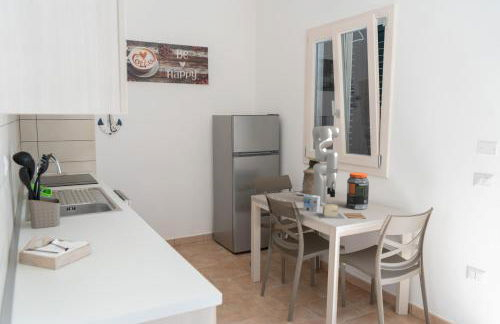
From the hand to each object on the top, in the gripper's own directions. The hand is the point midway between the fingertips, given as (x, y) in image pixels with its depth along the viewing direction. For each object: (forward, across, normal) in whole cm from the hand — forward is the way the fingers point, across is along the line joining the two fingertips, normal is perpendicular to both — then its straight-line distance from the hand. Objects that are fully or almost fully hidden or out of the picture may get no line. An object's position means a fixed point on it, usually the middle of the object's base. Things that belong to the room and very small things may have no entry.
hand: (330, 195), depth 264 cm
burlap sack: (+15, -74, +1) cm, 75 cm away
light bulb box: (+15, -16, -10) cm, 24 cm away
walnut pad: (+14, 0, +17) cm, 22 cm away
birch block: (+14, 0, 0) cm, 14 cm away
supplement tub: (+15, -26, +26) cm, 40 cm away
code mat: (+14, 0, 0) cm, 14 cm away
